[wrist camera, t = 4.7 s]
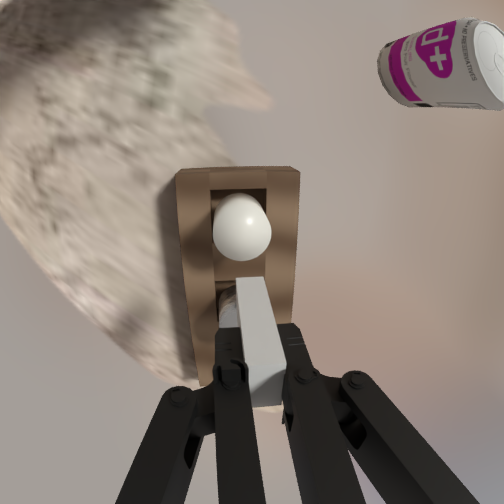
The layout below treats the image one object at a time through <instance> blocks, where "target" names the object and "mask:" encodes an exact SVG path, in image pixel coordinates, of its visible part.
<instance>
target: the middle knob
mask: <svg viewBox="0 0 504 504" xmlns="http://www.w3.org/2000/svg"><path fill="white" fill-rule="evenodd" d="M229 327H238V324H237V304H236V285H233V286H231V287H229V288H227V289H226V290H225V291H224V292H223V293H222V294H221V296H220V299H219V328H229Z"/></svg>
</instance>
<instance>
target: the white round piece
mask: <svg viewBox="0 0 504 504" xmlns="http://www.w3.org/2000/svg"><path fill="white" fill-rule="evenodd" d="M270 239H271V226H270V223H269V221H268V219H267V217H266V215H265V213H264V211H263V209H262V207H261V205H260V203H259V202H258V201H257V200H256V199H255V198H254V197H252V196H250V195H248V194H244V193H234V194H231V195H228V196H226V197H225V198H223V199H222V200H221V201H220V202H219V204H218V205H217V207H216V209H215V213H214V224H213V240H214V243H215V246H216V247H217V249H218V250H219V251H220V252H221V253H222V254H223V255H224V256H226V257H227V258H229V259H232V260H236V261H247V260H251V259H254V258H256V257H257V256H259V255H260V254H262V253H263V252H264V251H265V249H266V248H267V247H268V245H269V242H270Z"/></svg>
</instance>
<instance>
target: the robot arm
mask: <svg viewBox="0 0 504 504" xmlns="http://www.w3.org/2000/svg"><path fill="white" fill-rule="evenodd" d="M236 304H237V324H238V327H229V328H219V329H218V331H217V332H216V334H215V364H214V366H213V369H212V372H213V381H212V382H211V383H210V384H209V385H207V386H206V387H204V388H201V389H198V390H194V391H192V390H191V389H190V388H187V387H184V386H176V387H172V388H170V389H168V390H167V391H166V392H165V393H164V394H163V396H162V398H161V400H160V402H159V404H158V407H157V409H156V411H155V413H154V415H153V418H152V420H151V422H150V424H149V427H148V429H147V431H146V433H145V436H144V438H143V440H142V442H141V445H140V447H139V449H138V451H137V454H136V456H135V459H134V461H133V463H132V465H131V468H130V470H129V472H128V474H127V477H126V479H125V481H124V484H123V486H122V488H121V491H120V493H119V495H118V498H117V500H116V503H115V504H184V501H185V498H186V495H187V492H188V488H189V485H190V482H191V478H192V475H193V472H194V468H195V465H196V462H197V458H198V455H199V452H200V448H201V445H202V442H203V438H204V436H205V435H209V434H212V433H215V436H216V462H217V481H218V498H219V504H266V501H265V493H264V487H263V481H262V474H261V467H260V460H259V453H258V446H257V439H256V432H255V425H254V418H253V410H252V407H265V406H275V405H281V403H282V401H283V405H284V410H283V418H282V424H284V423H285V426H286V431H287V435H288V440H289V445H290V449H291V454H292V459H293V463H294V468H295V472H296V477H297V482H298V486H299V491H300V496H301V500H302V504H366V502H365V499H364V496H363V493H362V490H361V487H360V484H359V481H358V478H357V475H356V473H355V470H354V466H353V464H352V461H351V458H350V455H349V452H348V450H349V451H350V453H351V454H352V456H353V457H354V459H355V460H356V461H357V463H358V464H359V466H360V467H361V469H362V470H363V472H364V473H365V474H366V476H367V477H368V479H369V480H370V482H371V483H372V484H373V486H374V487H375V489H376V490H377V491H378V493H379V494H380V496H381V497H382V498H383V500H384V501H385V503H386V504H480V503H479V502H478V501H477V500H476V499H475V498H474V496H473V495H472V494H471V493H470V492H469V490H468V489H467V488H466V487H465V486H464V485H463V483H462V482H461V481H460V480H459V479H458V478H457V476H456V475H455V474H454V473H453V472H452V471H451V470H450V468H449V467H448V466H447V465H446V464H445V462H444V461H443V460H442V459H441V458H440V457H439V456H438V454H437V453H436V452H435V451H434V450H433V449H432V447H431V446H430V445H429V444H428V443H427V442H426V440H425V439H424V438H423V437H422V436H421V435H420V434H419V433H418V431H417V430H416V429H415V428H414V427H413V425H412V424H411V423H410V422H409V421H408V420H407V419H406V417H405V416H404V415H403V414H402V413H401V412H400V411H399V410H398V408H397V407H396V406H395V405H394V404H393V402H392V401H391V400H390V399H389V398H388V397H387V396H386V394H385V393H384V392H383V391H382V390H381V389H380V388H379V386H378V385H377V384H376V383H375V382H374V381H373V380H372V378H371V377H370V376H369V375H367V374H366V373H364V372H361V371H349V372H347V373H346V374H344V375H343V377H342V378H336V377H328V376H325V375H322V374H320V372H319V371H318V370H317V369H315V368H314V367H313V365H312V362H311V359H310V357H309V354H308V351H307V348H306V345H305V344H304V340H303V338H302V334H301V331H300V329H299V328H298V327H297V326H296V325H295V324H294V323H284V324H276V322H275V318H274V314H273V311H272V307H271V303H270V300H269V296H268V292H267V288H266V285H265V281H264V277H242V278H236Z"/></svg>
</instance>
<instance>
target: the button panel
mask: <svg viewBox="0 0 504 504" xmlns="http://www.w3.org/2000/svg"><path fill="white" fill-rule="evenodd" d="M175 183H176V199H177V213H178V225H179V236H180V247H181V257H182V266H183V275H184V284H185V292H186V300H187V308H188V315H189V322H190V329H191V336H192V342H193V349H194V355H195V361H196V367H197V373H198V378H199V384H200V386H207V385H209V384H210V383H211V382H212V381H213V372H212V369H213V366H214V364H215V334H216V332H217V331H218V329H219V299H220V296H221V294H222V293H223V292H224V291H225V290H226V289H227V288H229V287H231V286H233V285H236V278H242V277H264V281H265V285H266V288H267V292H268V296H269V300H270V303H271V307H272V311H273V314H274V318H275V322H276V324H284V323H291V317H292V305H293V293H294V280H295V266H296V250H297V233H298V232H297V231H298V214H299V192H300V191H299V190H300V172H299V171H298V170H296V169H294V168H292V167H290V166H289V167H288V166H244V167H210V168H190V169H181V170H180V171H178V172H177V173H176V174H175ZM234 193H244V194H248V195H250V196H252V197H254V198H255V199H256V200H257V201H258V202H259V203H260V205H261V207H262V209H263V211H264V213H265V215H266V217H267V219H268V221H269V223H270V226H271V239H270V242H269V245H268V247H267V248H266V249H265V251H264V252H263V253H262V254H260V255H259V256H257V257H256V258H254V259H251V260H247V261H236V260H232V259H229V258H227V257H226V256H224V255H223V254H222V253H221V252H220V251H219V250H218V249H217V247H216V246H215V243H214V240H213V224H214V213H215V209H216V207H217V205H218V204H219V202H220V201H221V200H222V199H223V198H225V197H226V196H228V195H231V194H234Z"/></svg>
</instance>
